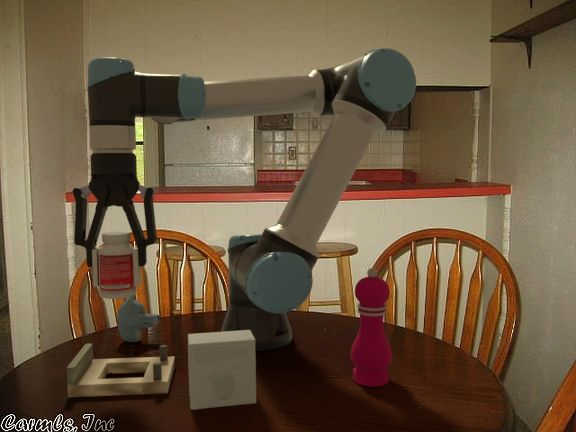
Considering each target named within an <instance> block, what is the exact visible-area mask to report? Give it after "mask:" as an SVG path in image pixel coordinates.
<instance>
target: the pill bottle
mask: <svg viewBox="0 0 576 432" xmlns="http://www.w3.org/2000/svg"><path fill="white" fill-rule="evenodd" d="M101 241H102V243H103V245H101V246H100V248H99V250H98V266H99V286H98V289H99V290H98V291H99V292H98V293H99V296H100V297H101V298H103V299H107V300H119V299H128V298H129V297H131V296H133V295H134V294H135V295H136V292H137V286H134V272H133V249H134V248H135V247H134V246H133V245H131V244H130V242H131V233H130V231H108V232H102V233H101Z"/></svg>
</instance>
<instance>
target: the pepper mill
mask: <svg viewBox="0 0 576 432" xmlns="http://www.w3.org/2000/svg"><path fill="white" fill-rule="evenodd" d="M366 273H367V276H365V277H363V278H360V279H359V280H358V282H357V283H356V284H355V288H354V295H355V296H354V297H355V298H356V300H357V302H359V303H358V304H357V313H358V314H359V318H360V321H359V329H358V333H357V335H356V337H355V338H354V341H353V343H352V345H351V349H350V360H351V362H352V364H353V365H354V366H355V367H353V368H352V379H353V381H354V382H355V383H356V384H358V385H360V386H364V387H375V388H376V387H382V386H385V385H387V384H388V383H389V382H390V371H389V369H388V367H389V366H390V365H391V363H392V361H393V352H392V349H391V345H390V343H389V340H388V338H387V335H386V332H385V329H384V317H385V315H386V314H387V304H385V303H386V302H387V301H388V300H389V298H390V296H391V295H390V294H391V292H390V287H389V285H388V282H387V281H386V280H385V279H383V278H382V277H379V276H378V273H379V272H378V270H377V268H374V267H371V268H370V267H369V269H368V270H367V272H366Z"/></svg>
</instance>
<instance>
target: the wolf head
mask: <svg viewBox="0 0 576 432" xmlns="http://www.w3.org/2000/svg"><path fill="white" fill-rule="evenodd" d="M116 315H117V316H116V319H117V329H118V333H119V335H120V338H121V340H123V341H125V342H130V343H137V342H139V341H140V340H141V338H142V333H143V332H142V329H149V328H154V327H156V326H157V325H158V324H159V322H160V319H161V316H160V314H156V313H147V312H146V308H145V306H144V304H143V303H142V302H140V301H137V299H136V293H135V294H134V295H133V296H131V297H127V298H126V300H125V301H123V302H122V304H121V305H120V306H119V308H118V311H117V314H116Z"/></svg>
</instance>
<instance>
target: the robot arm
mask: <svg viewBox="0 0 576 432" xmlns="http://www.w3.org/2000/svg"><path fill="white" fill-rule="evenodd" d="M134 65H135V64H134V63H133V62H132V61H131V60H129V59H128V58H127V59H126V58H118V57H112V56H111V57H109V56H108V57H107V56H105V57H104V56H103V57H97V58H94V59H91V60H90V62H89V63H88V65H87V101H88V102H87V103H88V105H87V106H88V119H89V120H88V122H89V124H88V125H89V126H88V127H89V149H90V150H91V151H93V153H91V154H90V157H89V158H90V175H91V176H90V181H89V182H88V185H85V186H82V187H79V186H78V187H74V188H73V189H72V194H73V196H74V197H73V198H74V201H75V213H74V216H75V218H74V237H73V238H74V239H73V240H74V242H73V243H74V245H75V246H80V247H83V248H85V251H86V252H85V254H86V256H85V257H86V266H87V268H92V285H93V288H99V266H98V250H99V248H100V247H101V246H100V247H99V246H98V247H97V245H98V244H97V243H98V240H99V236H100V233H101V229H102V226H103V224H104V219H105V216H106V213H107V211H108V209H109V207H113V206H115V207H118V208H119V207H122V209H123V213H124V214H125V216H126V218H127V221H128V224H129V227H130V230H131V232H132V235H133V238H134V241H135V243H136V246H135V247H134V249H133V272H134V286H136V287H139V286H140V285H141V284H142V267H145V266H146V265H147V258H148V257H147V255H148V254H147V253H148V252H147V248H148V246H151V245H154V244H155V243H156V242H157V241H158V237H157V236H158V235H157V227H156V225H157V224H156V216H155V205H154V198H155V195H156V188H155V187H154V186H146V185H142V184H141V183H140V181H139V179H138V174H137V173H138V168H137V167H138V165H137V154H135V153H134V152H133V151H135V150H136V149H137V136H136V135H137V132H136V131H137V129H136V118H144V119H145V118H151V119H152V120H153V121H155V123H157V124H161V125H172V124H174V123H183V122H185V123H186V122H192V121H193V122H194V121H208V120H219V119H230V118H231V119H232V118H233V119H234V118H242V117H243V118H245V117H257V116H272V115H283V114H297V113H311V114H312V115H313V116H315V117H320V116H321V117H322V116H333V117H332V119H331V120H330V123H329V124H328V126H327V128H326V130H325V132H324V133H323V136H322V138H321V139H320V141H319V143H318V145H317V147H316V149H315V151H314V152H313V154H312V156H311V157H310V160H309V162H308V164H307V165H306V168H305V169H304V171H303V173H302V176H301V177H300V178H299V180H298V182H297V184H296V186H295V188H294V190H293V192H292V194H291V195H290V198H289V199H288V201H287V203H286V205H285V207H284V209H283V211H282V212H281V215H280V216H279V218H278V220H277V223H275V224H273V225H270V226H267V227H265V228H264V229H263V232H262V233H260V234H241V235H239V234H238V235H232V236H230V238H229V239H228V246H227V254H228V308H227V310H226V314H225V317H224V321H223V324H222V327H221V331H220V332H226V331H240V330H250V331H251V332H252V334H253V336H254V338H255V352H264V351H271V350H277V349H281V348H284V347H286V346H288V345H289V344H290V343H291V342H292V340H293V339H292V337H293V336H292V327H291V323H290V321H289V319H288V315H287V313H289V312H292V311H294V310H296V309H298V308H299V307H301V305H303V304H304V303H305V302H306V301H307V299H308V298H309V296H310V294H311V292H312V288H313V283H314V282H313V281H314V280H313V279H314V278H313V273H312V271H313V270H314V267H315V266H316V264H317V261H318V260H319V258H320V254H319V252H318V248H317V244H318V242H319V241H320V238H321V237H322V234H323V233H324V232H325V229H326V228H327V225H328V223H329V221H330V219H331V218H332V216H333V214H334V213H335V212H334V211H335V210H336V208H337V207H338V204H339V202H340V201H341V199H342V197H343V195H344V194H345V191H346V189H347V187H348V185H349V184H350V181H351V179H352V178H353V176H354V174H355V172H356V170H357V169H358V166H359V164H360V163H361V160H362V159H363V157H364V155H365V153H366V151H367V149H368V148H369V145H370V144H371V141H372V140H373V138H374V137H375V136H376V135H379V134H381V133H385V132H386V130H387V128H388V126H389V124H390V123H391V121H392V119H393V118H394V115H395V113H396V112H398V111H400V110H402V109H404V108H405V107H406V106H407V105H408V104H409V103H410V102H411V101H412V99H413V97H414V95H415V92H416V88H417V76H416V75H415V71H414V67H413V65H412V62H410V60H409V59H408V58H407V57H406V56H405V55H404V53H401V51H398V50H395V49H393V48H388V47H387V48H386V47H385V48H377V49H372V50H370V51H367V52H366V53H364V54H363V55H361V56H358V57H356V58H353V59H350V60H349V61H346V62H345V63H341V64H339V65H336V66H334V67H333V66H332V67H328V68H323V69H313V70H312V71H311V72H310V73H309V74H308V75H307V74H306V75H294V76H293V75H292V76H291V75H290V76H280V77H279V76H276V77H274V76H273V77H260V78H259V77H258V78H241V79H227V80H211V81H210V80H209V81H204V79H203V78H202V77H201V76H198V75H191V74H186V73H182V74H174V73H173V74H170V73H144V72H139V71H138V72H137V71H136V70H135V66H134ZM90 192H91V194H92V195H93V196H94V197H95V199H96V200H97V202H96V204H95V208H94V209H95V210H94V213H93V214H94V215H93V218H92V221H91V224H90V228H89V231H88V234H87V217H88V198H89V197H90ZM138 192H139V193H140V197H141V199H143V211H144V212H143V213H144V218H145V222H144V223H145V229H146V237H145V233H144V231H143V228H142V226H141V223H140V220H139V217H138V214H137V212H136V209H135V204H134V201H133V199H134V198H135V196H136V195H137V193H138Z"/></svg>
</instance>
